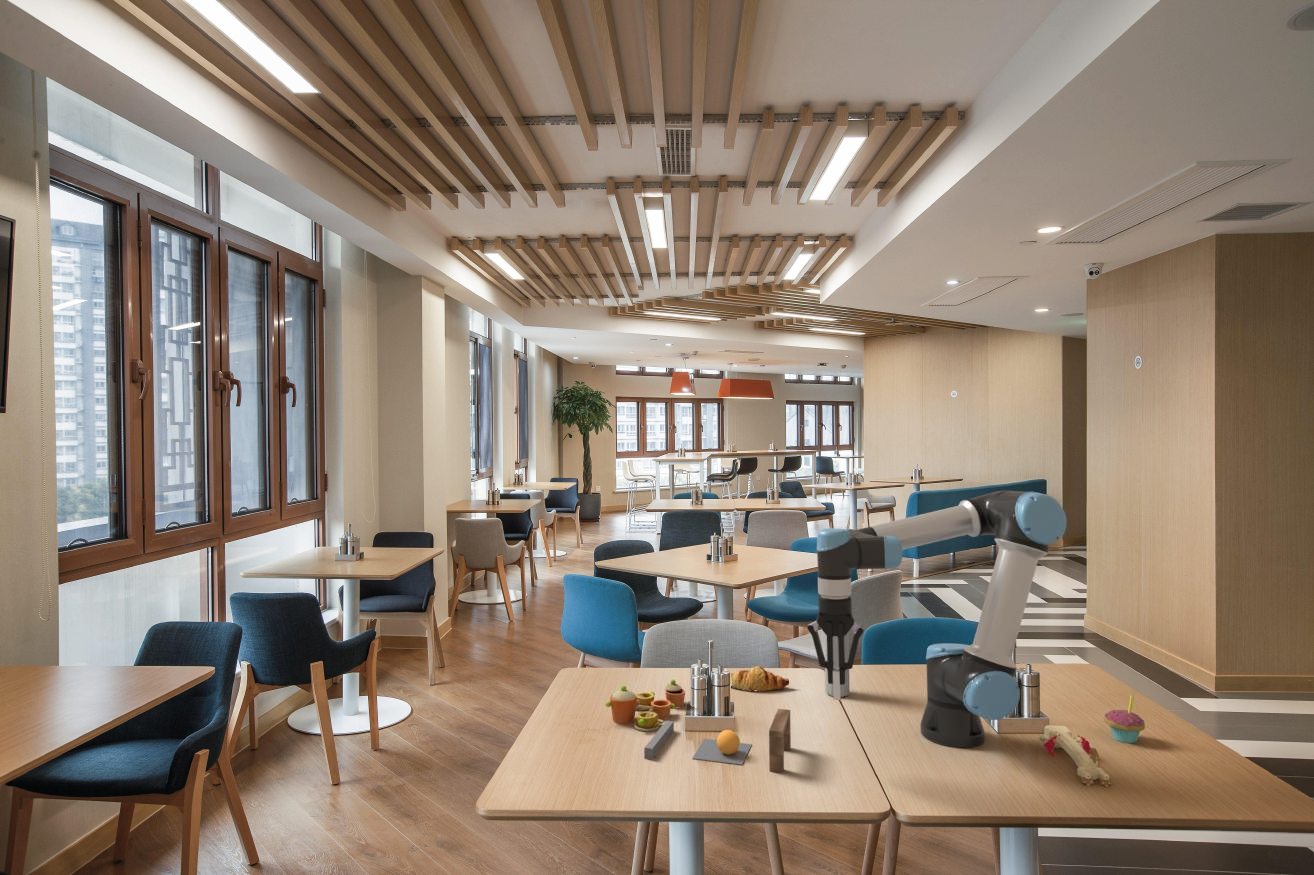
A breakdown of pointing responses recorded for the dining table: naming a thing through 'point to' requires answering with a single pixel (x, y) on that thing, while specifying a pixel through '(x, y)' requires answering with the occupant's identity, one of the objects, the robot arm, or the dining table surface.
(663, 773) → the dining table surface
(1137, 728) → the cupcake
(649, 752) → the stopper
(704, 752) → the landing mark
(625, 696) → the toy tea set
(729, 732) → the ball
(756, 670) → the croissant
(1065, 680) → the dining table surface
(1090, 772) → the bone
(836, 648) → the water bottle
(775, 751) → the bridge
